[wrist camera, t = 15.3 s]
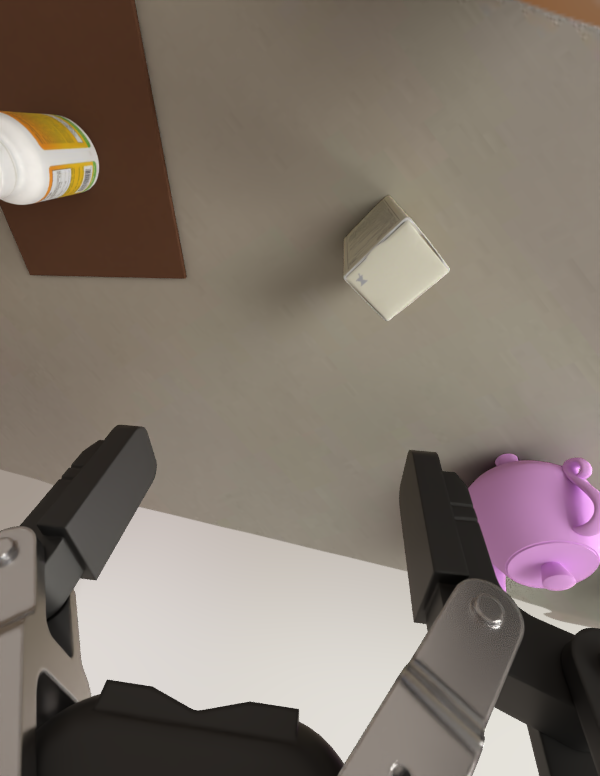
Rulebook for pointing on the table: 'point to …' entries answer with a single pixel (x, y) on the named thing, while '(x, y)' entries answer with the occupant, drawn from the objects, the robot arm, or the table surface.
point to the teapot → (539, 521)
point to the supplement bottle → (43, 158)
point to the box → (390, 259)
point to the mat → (105, 130)
